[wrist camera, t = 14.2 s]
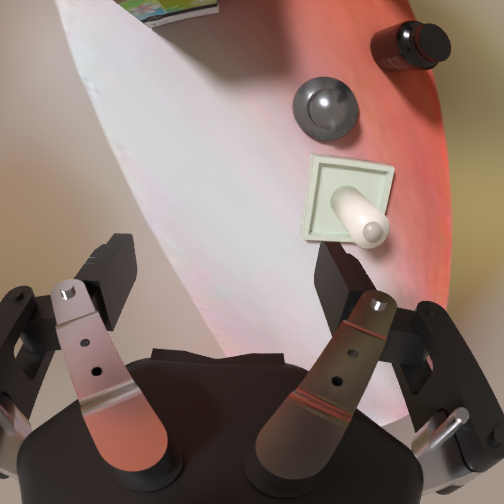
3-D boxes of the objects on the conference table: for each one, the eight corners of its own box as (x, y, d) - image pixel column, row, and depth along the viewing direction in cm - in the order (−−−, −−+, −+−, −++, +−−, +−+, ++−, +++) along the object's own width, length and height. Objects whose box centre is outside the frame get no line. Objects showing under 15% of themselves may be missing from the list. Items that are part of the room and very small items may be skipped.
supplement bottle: (415, 63, 32) (465, 62, 22) (383, 78, 34) (429, 78, 24) (394, 24, 29) (440, 10, 19) (360, 37, 31) (401, 23, 21)
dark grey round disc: (295, 72, 34) (301, 70, 30) (358, 83, 35) (369, 83, 31) (289, 135, 38) (295, 140, 35) (351, 143, 39) (361, 148, 36)
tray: (310, 153, 40) (314, 156, 38) (388, 164, 41) (394, 167, 39) (299, 233, 46) (302, 239, 44) (372, 237, 47) (377, 243, 45)
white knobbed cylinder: (332, 183, 41) (360, 212, 32) (363, 187, 42) (396, 216, 32) (327, 215, 44) (350, 251, 34) (357, 217, 44) (386, 252, 35)
